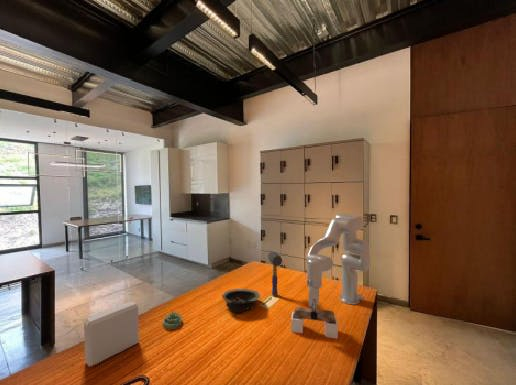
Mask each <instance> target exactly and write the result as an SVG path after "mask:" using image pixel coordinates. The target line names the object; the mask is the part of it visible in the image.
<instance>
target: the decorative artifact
mask: <svg viewBox="0 0 516 385" xmlns="http://www.w3.org/2000/svg"><path fill="white" fill-rule="evenodd" d="M181 325H183V317H182V316H181V315H179V313H178V312H173V311H171V313H169V314H168V315H167V316H165V317H164V319H163V321H162V328H163V327H164V328H165V330H167V329H172V330H175V329H177V327H178V328H180V327H181ZM164 328H163V329H164Z"/></svg>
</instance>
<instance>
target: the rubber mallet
mask: <svg viewBox="0 0 516 385" xmlns="http://www.w3.org/2000/svg"><path fill="white" fill-rule="evenodd" d="M267 258H268V261H270V263H271V264H272V276H271V277H272V278H271V280H272V281H271V283H272V288H271V290H272V291H271V294H272V296H273V297H277V295H278V275H277V274H278V273H277V272H278V270H277V269H278V268H277V267H278V266H279V267H280V265H281V264H283V259H282V257H281V256H280V254H279V253H277V252H276V251H274V250H273V251H272V250H271V251H269V253H268V255H267Z"/></svg>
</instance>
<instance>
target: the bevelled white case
mask: <svg viewBox="0 0 516 385" xmlns="http://www.w3.org/2000/svg"><path fill="white" fill-rule="evenodd" d="M139 323H140V322H139V305H138V304H137V303H136V302H135V301H132V300H131V301H129V302H127V303H123V304H121V305H118V306H115V307H113V308H109V309H107V310H104V311H102V312H99V313H97V314H94V315H91V316H89V317H86V319H85V320H84V321H83V331H84V332H83V335H84V339H83V340H84V361H85V363H86V365H87V366H88V367H90V366H91V365H94V364H96V365H97V363H98V364H100V363H102V362H103V360H104V361H106V360H108V359H110V358H112V357H113V355H114V356H115V354H116V355H118V354H119V353H121V352H123V351H125V350H127V349H129V348H131V347H133V346H135V345H137V344H139V342H140V331H139ZM111 356H112V357H111ZM109 357H110V358H109ZM107 358H108V359H107ZM105 359H106V360H105ZM101 361H102V362H101ZM99 362H100V363H99ZM94 366H95V365H94Z"/></svg>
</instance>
